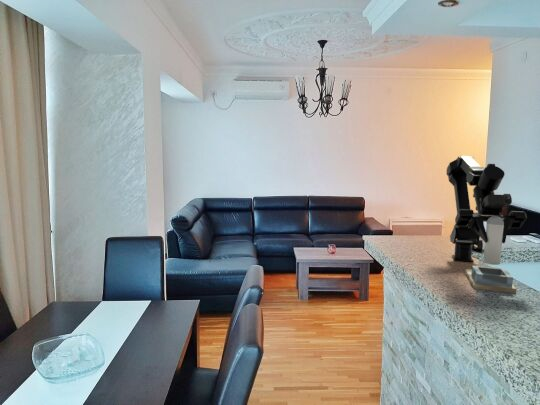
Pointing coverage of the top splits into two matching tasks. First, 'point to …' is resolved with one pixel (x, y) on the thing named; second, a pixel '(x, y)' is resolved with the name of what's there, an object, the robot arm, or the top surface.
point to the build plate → (478, 247)
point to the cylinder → (493, 240)
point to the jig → (490, 279)
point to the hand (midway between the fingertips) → (495, 242)
